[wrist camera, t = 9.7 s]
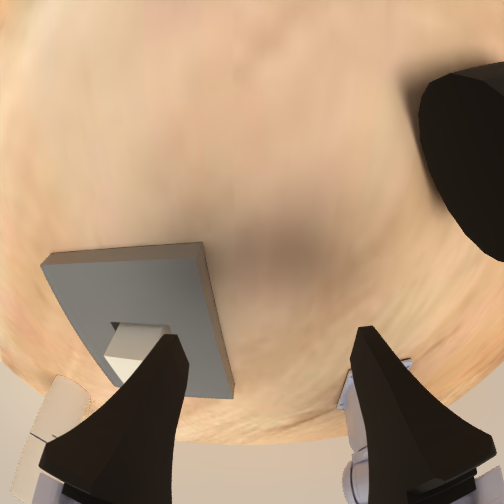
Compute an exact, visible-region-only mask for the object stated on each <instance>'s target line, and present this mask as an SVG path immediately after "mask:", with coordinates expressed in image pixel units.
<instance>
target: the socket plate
mask: <svg viewBox="0 0 504 504" xmlns="http://www.w3.org/2000/svg"><path fill="white" fill-rule="evenodd" d="M40 266H41V268H42V270H43V273H44V275H45V277H46V279H47V281H48V283H49V285H50V287H51V289H52V291H53V293H54V295H55V297H56V299H57V300H58V302H59V304H60V306H61V308H62V309H63V311H64V313H65V315H66V316H67V318H68V320H69V322H70V323H71V325H72V326H73V328H74V330H75V331H76V333H77V335H78V336H79V338H80V339H81V341H82V342H83V344H84V345H85V347H86V348H87V350H88V351H89V353H90V354H91V356H92V357H93V358H94V360H95V361H96V363H97V364H98V365H99V367H100V368H101V369H102V371H103V372H104V373H105V375H106V376H107V377H108V379H109V380H110V381H111V382H112V384H113V385H114V386H115V387H120V388H121V386H122V385H123V384H124V383H123V382H122V381H121V379H120V378H119V377H118V375H117V374H116V373H115V371H114V370H113V368H112V367H111V366H110V364H109V363H108V361H107V360H106V358H105V357H104V354H105V352H106V350H107V348H108V346H109V344H110V342H111V340H112V338H113V336H114V334H115V332H116V330H117V328H118V326H119V324H120V323H137V324H158V325H169V327H170V330H171V332H172V334H177V335H178V337H179V340H180V342H181V345H182V347H183V350H184V352H185V354H186V357H187V359H188V362H189V364H190V365H189V374H188V382H187V388H186V392H185V397H198V398H215V399H233V397H234V387H235V383H234V380H233V376H232V372H231V368H230V364H229V361H228V357H227V353H226V349H225V345H224V340H223V336H222V332H221V328H220V324H219V319H218V315H217V311H216V306H215V302H214V297H213V293H212V288H211V284H210V279H209V274H208V269H207V265H206V260H205V255H204V250H203V245H202V242H198V243H183V244H168V245H153V246H139V247H125V248H112V249H99V250H86V251H73V252H61V253H52V254H51V255H50V256H49V257H48V258H47V259H46V260H45V261H44V262H43V263H42V264H41V265H40Z"/></svg>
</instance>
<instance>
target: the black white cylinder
mask: <svg viewBox="0 0 504 504" xmlns="http://www.w3.org/2000/svg"><path fill="white" fill-rule="evenodd" d="M418 117H419V127H420V138H421V144H422V147H423V150H424V154H425V157H426V161H427V165H428V168H429V171H430V173H431V176H432V178H433V180H434V183H435V185H436V187H437V190H438V192H439V193H440V195H441V197H442V199H443V201H444V203H445V205H446V207H447V209H448V211H449V212H450V213H451V215H452V216H453V217H454V219H455V220H456V222H457V223H458V225H459V226H460V227H461V229H462V230H463V232H464V233H465V235H466V236H467V237H469V238H470V239H471V240H472V241H473V242H474V243H475V244H476V245H477V246H478V247H479V248H480V249H481V250H482V251H483V252H484V253H485V254H487V255H489V256H491V257H492V258H494V259H496V260H498V261H501V262H504V62H498V63H493V64H488V65H483V66H478V67H474V68H470V69H465V70H461V71H457V72H454V73H450V74H448V75H446V76H443V77H441V78H439V79H437V80H435V81H433V82H430V83H429V85H428V87H427V88H426V90H425V92H424V94H423V95H422V98H421V104H420V109H419V113H418Z"/></svg>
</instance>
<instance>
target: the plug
mask: <svg viewBox="0 0 504 504" xmlns="http://www.w3.org/2000/svg"><path fill="white" fill-rule="evenodd" d="M163 334H172V332H171V330H170V327H169V325H158V324H137V323H120V324H119V326H118V328H117V330H116V332H115V334H114V336H113V338H112V340H111V342H110V344H109V346H108V348H107V350H106V352H105V354H104V357H105V358H106V360H107V361H108V363H109V364H110V366H111V367H112V368H113V370H114V371H115V373H116V374H117V375H118V377H119V378H120V379H121V381H122V382H123V383H125V382H126V381H127V380H128V378H129V377H130V376H131V375H132V374H133V373H134V371H135V370H136V369H137V368H138V366H139V365H140V364H141V363H142V361H143V360H144V359H145V358H146V356H147V355H148V354H149V352H150V351H151V350H152V348H153V347H154V346H155V344H156V343H157V342H158V341H159V339H160V338H161V337H162V335H163Z"/></svg>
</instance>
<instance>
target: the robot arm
mask: <svg viewBox="0 0 504 504" xmlns="http://www.w3.org/2000/svg"><path fill="white" fill-rule="evenodd" d="M350 362H351V369H352V370H350V371H349V372H348V375H347V378H346V381H345V384H344V387H343V390H342V393H341V396H340V399H339V401H338V404H337V409H344V411H345V417H346V423H347V429H348V436H349V442H350V446H351V448H352V450H353V451H354V452H355V453H354V454H352V461H350V462H348V464H347V466H346V467H345V469H344V472H343V477H342V483H343V492H344V495H345V498H346V500H347V502H348V504H504V481H503V477H502V473H501V468H500V466H497V467H495V468H493V469H492V470H490V471H488V472H487V473H485V474H484V475H482V476H480V477H478V478H475V479H474V476H475V475H476V474H477V470H476V467H478V466H480V465H481V464H483V463H484V462H486V461H488V460H489V459H491V458H492V457H494V456H495V455H496V453H497V452H496V449H495V445H494V442H493V439H492V436H491V435H489V434H487V433H485V432H483V431H481V430H479V429H478V428H476V427H474V426H472V425H471V424H469V423H468V422H466V421H464V420H463V419H461V418H460V417H459V416H457V415H456V414H454V413H453V412H452V411H451V410H449V409H448V408H447V407H446V406H444V405H443V404H442V403H441V402H440V401H438V400H437V399H436V398H435V397H434V396H433V395H432V394H431V393H430V392H429V391H428V390H427V389H426V388H425V387H424V386H423V385H422V384H421V383H420V382H419V381H418V380H417V379H416V378H415V377H414V376H413V375H412V374H411V372H410V371H409V369H410V367H411V365H412V363H413V361H412V359H409V360H404V361H400V359H399V358H398V357H397V356H396V355H395V353H394V352H393V351H392V350H391V348H390V347H389V346H388V344H387V343H386V342H385V341H384V339H383V338H382V337H381V335H380V334H379V333H378V331H377V330H376V329H375V328H374V327H373V326H365V327H358V331H357V335H356V338H355V342H354V346H353V349H352V353H351V357H350ZM189 365H190V364H189V362H188V359H187V357H186V354H185V352H184V350H183V347H182V345H181V342H180V340H179V337H178V335H177V334H163V335H162V337H161V338H160V339H159V341H158V342H157V343H156V344H155V346H154V347H153V348H152V350H151V351H150V352H149V354H148V355H147V356H146V358H145V359H144V360H143V361H142V363H141V364H140V365H139V366H138V368H137V369H136V370H135V371H134V373H133V374H132V375H131V376H130V377H129V378H128V380H127V381H126V382H125V383H124V384H123V385H122V386H121V388H120V389H119V390H118V391H117V392H116V393H115V394H114V395H113V396H112V397H111V398H110V399H109V400H108V401H107V402H106V403H105V404H104V405H103V406H101V407H100V408H99V409H98V410H97V411H96V412H94V413H93V414H92V415H91V416H90V417H88V418H87V419H86V420H84V421H83V422H82V423H80V424H79V425H77V426H76V427H74V428H73V429H71V430H70V431H68V432H67V433H65V434H63V435H61V436H59V437H57V438H56V439H54V440H52V441H50V442H48V443H46V445H45V447H44V450H43V453H42V456H41V459H40V462H39V465H38V466H39V468H41V469H42V470H44V471H45V472H47V473H49V474H50V475H52V476H54V477H56V478H57V479H59V480H61V481H63V482H64V484H63V483H61V482H59V481H57V480H55V479H53V478H51V477H49V476H48V475H46V474H44V473H42V472H41V473H40V475H39V478H38V482H37V485H36V489H35V492H34V496H33V500H32V504H172V495H171V493H172V492H171V482H172V479H171V478H172V460H173V448H174V440H175V433H176V428H177V424H178V420H179V416H180V412H181V408H182V404H183V400H184V396H185V392H186V388H187V382H188V374H189Z"/></svg>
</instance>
